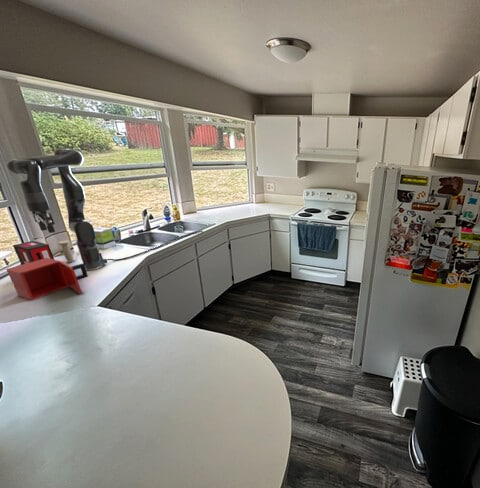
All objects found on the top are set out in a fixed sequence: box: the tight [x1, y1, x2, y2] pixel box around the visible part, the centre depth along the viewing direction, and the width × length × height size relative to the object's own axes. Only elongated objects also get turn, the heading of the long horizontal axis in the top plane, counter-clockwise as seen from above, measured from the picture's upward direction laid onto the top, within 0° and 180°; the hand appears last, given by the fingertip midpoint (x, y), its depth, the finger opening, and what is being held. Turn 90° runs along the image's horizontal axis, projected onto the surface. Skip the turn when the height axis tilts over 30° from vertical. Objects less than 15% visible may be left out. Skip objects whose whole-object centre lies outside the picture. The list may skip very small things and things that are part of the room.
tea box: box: [93, 226, 116, 250], centre depth 202 cm, size 15×10×15 cm, turn 80°
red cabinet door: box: [60, 260, 89, 295], centre depth 141 cm, size 6×16×16 cm, turn 60°
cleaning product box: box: [12, 240, 55, 265], centre depth 154 cm, size 16×9×20 cm, turn 70°
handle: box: [58, 239, 75, 263], centre depth 173 cm, size 5×6×15 cm
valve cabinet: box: [5, 258, 69, 301], centre depth 137 cm, size 12×16×16 cm
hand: (48, 231), depth 132 cm, fingers open, 8 cm apart
